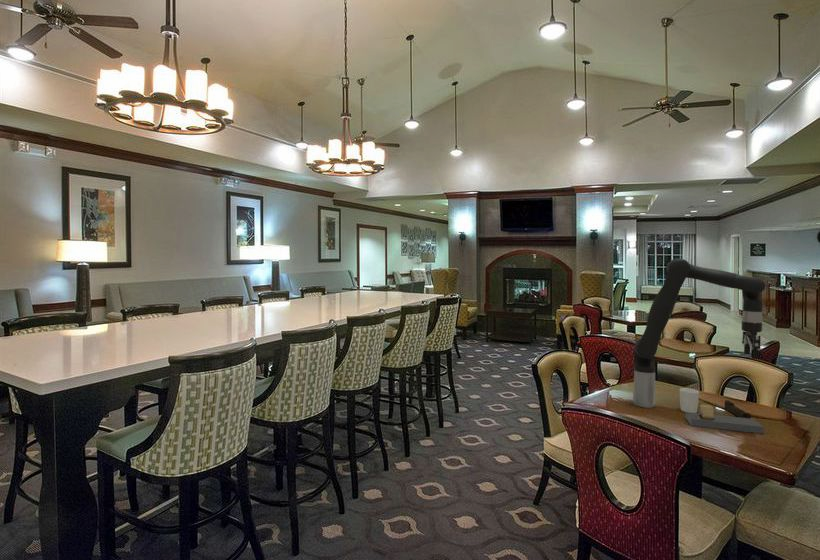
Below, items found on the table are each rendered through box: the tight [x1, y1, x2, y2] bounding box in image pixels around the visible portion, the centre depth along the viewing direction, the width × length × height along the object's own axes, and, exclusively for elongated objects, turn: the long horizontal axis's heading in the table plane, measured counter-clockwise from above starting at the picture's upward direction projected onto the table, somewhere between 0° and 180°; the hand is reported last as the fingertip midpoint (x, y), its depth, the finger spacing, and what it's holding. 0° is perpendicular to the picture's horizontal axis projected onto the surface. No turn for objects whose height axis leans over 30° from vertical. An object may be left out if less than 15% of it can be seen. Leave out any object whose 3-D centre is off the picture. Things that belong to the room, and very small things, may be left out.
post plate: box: [685, 412, 764, 435], centre depth 194 cm, size 26×10×3 cm, turn 70°
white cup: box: [679, 387, 700, 413], centre depth 214 cm, size 8×8×10 cm
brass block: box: [699, 404, 715, 420], centre depth 196 cm, size 4×4×8 cm
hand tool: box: [724, 400, 752, 419], centre depth 209 cm, size 19×4×5 cm, turn 167°
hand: (750, 355), depth 206 cm, fingers open, 8 cm apart
